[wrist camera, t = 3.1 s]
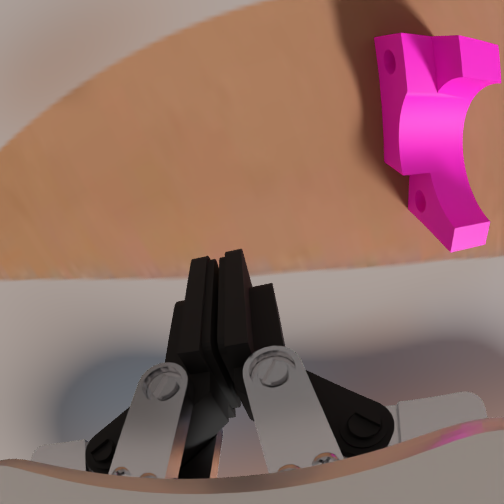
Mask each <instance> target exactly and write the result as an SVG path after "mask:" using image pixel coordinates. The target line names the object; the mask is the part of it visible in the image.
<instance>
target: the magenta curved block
mask: <svg viewBox="0 0 504 504" xmlns="http://www.w3.org/2000/svg"><path fill="white" fill-rule="evenodd" d="M374 42H375V48H376V56H377V63H378V72H379V81H380V91H381V103H382V117H383V136H384V162H385V163H386V164H388V165H389V166H391V167H392V168H393V169H395V170H396V171H398V172H399V173H400V174H402V175H409V198H408V210H409V211H410V212H411V213H412V214H414V215H415V216H416V217H417V218H418V219H419V220H420V221H421V222H422V223H423V224H424V225H425V226H426V227H427V228H428V229H429V230H430V231H431V232H432V233H433V234H434V236H435V237H436V238H437V239H438V240H439V241H440V242H441V243H442V244H443V245H444V246H445V247H446V248H447V249H448V250H449V251H450V252H455V251H459V250H464V249H468V248H472V247H476V246H480V245H485V243H486V239H487V234H488V229H489V225H490V221H489V220H488V218H487V217H486V216H485V215H484V213H483V212H482V210H481V209H480V207H479V205H478V204H477V202H476V200H475V198H474V195H473V193H472V191H471V188H470V185H469V182H468V178H467V175H466V170H465V165H464V158H463V146H462V138H463V126H464V120H465V116H466V113H467V110H468V107H469V105H470V103H471V101H472V99H473V98H474V96H475V95H476V94H477V93H478V92H479V91H480V90H481V89H483V88H484V87H486V86H488V85H491V84H495V83H501V71H500V58H499V48H498V45H496V44H492V43H488V42H485V41H481V40H477V39H473V38H468V37H464V36H459V35H454V36H425V35H417V34H408V33H396V34H390V35H384V36H379V37H374Z"/></svg>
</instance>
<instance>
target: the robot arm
mask: <svg viewBox="0 0 504 504" xmlns="http://www.w3.org/2000/svg"><path fill="white" fill-rule="evenodd" d="M241 402H242V404H243V406H244V408H245V410H246V411H247V414H248V416H249V417H250V419H251V420H253V421H254V422H255V425H256V429H257V432H258V436H259V439H260V443H261V447H262V451H263V454H264V458H265V461H266V465H267V468H268V472H269V473H268V474H260V475H251V476H240V477H227V478H217V474H218V467H219V460H220V454H221V447H222V440H223V427H224V426H225V425H226V424H227V423H228V422H229V418H231V417H236V414H235V408H237V407H240V406H241ZM0 504H504V417H494V418H487V414H486V409H485V406H484V404H483V401H482V400H481V399H480V398H479V397H478V396H477V395H476V394H473V393H471V392H458V393H453V394H448V395H442V396H436V397H430V398H423V399H417V400H409V401H401V402H398V404H397V405H392V406H383V405H381V404H380V403H378V402H375V401H373V400H371V399H369V398H366V397H364V396H362V395H359V394H357V393H355V392H352V391H350V390H348V389H346V388H343V387H341V386H339V385H337V384H334V383H332V382H330V381H328V380H326V379H324V378H321V377H320V376H317V375H315V374H313V373H311V372H309V371H307V370H305V368H304V366H303V364H302V361H301V359H300V357H299V356H298V355H297V353H296V352H294V351H293V350H291V349H290V348H287V347H285V343H284V338H283V333H282V327H281V322H280V318H279V312H278V307H277V303H276V298H275V293H274V289H273V284H272V283H270V284H265V285H260V286H255V287H252V284H251V280H250V277H249V273H248V269H247V265H246V262H245V258H244V254H243V251H242V249H238V250H234V251H229V252H225V257H222V258H220V260H219V267H218V264H217V261H216V259H213V260H210V258H209V256H206V257H201V258H196V259H192V261H191V265H190V271H189V277H188V283H187V289H186V296H185V300H184V301H179V302H176V304H175V307H174V312H173V318H172V323H171V329H170V335H169V341H168V347H167V353H166V359H165V363H160V364H158V365H155V366H153V367H151V368H150V369H149V370H147V371H146V372H145V373H144V374H143V375H142V377H141V379H140V381H139V382H138V385H137V388H136V391H135V394H134V397H133V400H132V402H131V405H130V407H129V408H128V409H127V410H125V411H124V412H123V413H122V414H121V415H119V416H118V417H117V418H116V419H115V420H113V421H112V422H111V423H110V424H108V425H107V426H106V427H105V428H104V429H102V430H101V431H100V432H99V433H98V434H96V435H95V436H94V437H93V438H92V439H91V440H90V441H89V442H88V441H87V440H85V439H84V440H78V441H71V442H64V443H56V444H48V445H43V446H40V447H38V448H37V449H36V450H35V451H34V453H33V455H32V457H31V461H29V460H23V459H6V460H0Z"/></svg>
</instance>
